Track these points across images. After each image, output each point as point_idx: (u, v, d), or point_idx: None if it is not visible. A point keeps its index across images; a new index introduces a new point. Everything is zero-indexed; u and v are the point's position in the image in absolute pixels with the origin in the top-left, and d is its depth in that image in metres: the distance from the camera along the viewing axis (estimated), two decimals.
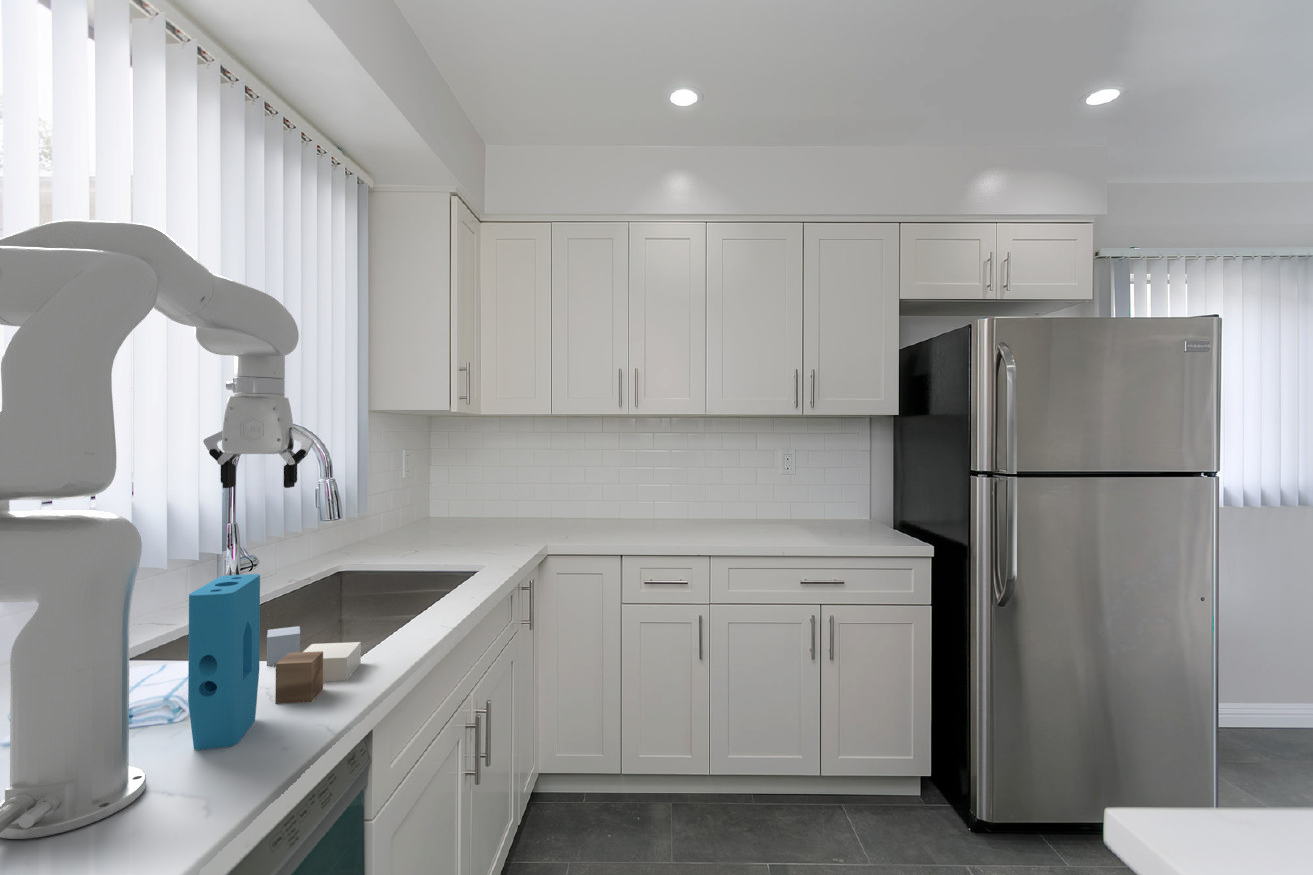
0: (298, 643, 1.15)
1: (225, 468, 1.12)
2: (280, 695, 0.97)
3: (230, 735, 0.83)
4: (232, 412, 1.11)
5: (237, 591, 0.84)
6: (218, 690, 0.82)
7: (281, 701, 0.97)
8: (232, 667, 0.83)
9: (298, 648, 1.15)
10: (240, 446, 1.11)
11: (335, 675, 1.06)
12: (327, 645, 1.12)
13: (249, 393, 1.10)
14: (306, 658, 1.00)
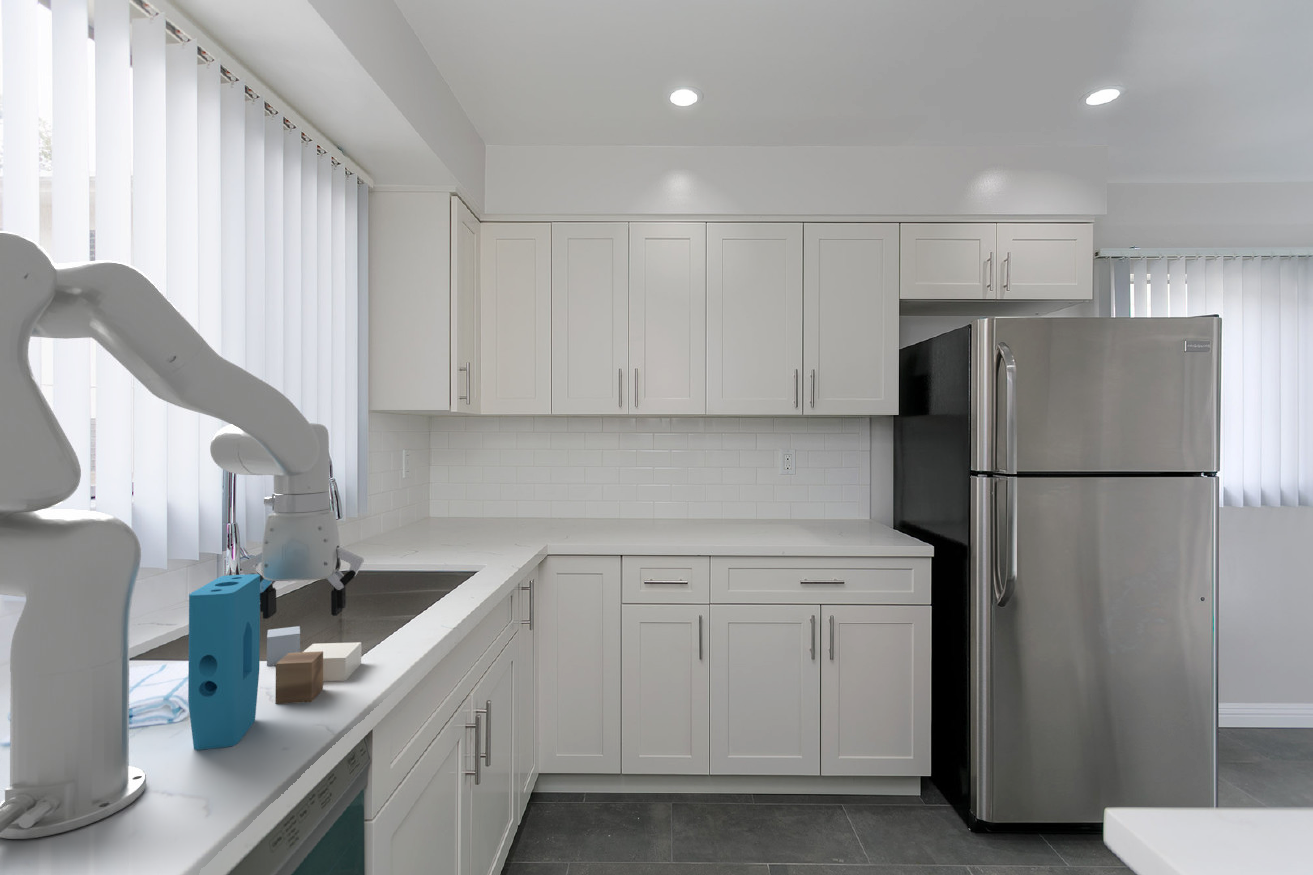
0: (298, 643, 1.15)
1: (265, 596, 0.98)
2: (280, 695, 0.97)
3: (230, 735, 0.83)
4: (272, 534, 0.97)
5: (237, 591, 0.84)
6: (218, 690, 0.82)
7: (281, 701, 0.97)
8: (232, 667, 0.83)
9: (298, 648, 1.15)
10: (282, 572, 0.97)
11: (333, 675, 1.06)
12: (328, 645, 1.12)
13: (291, 513, 0.96)
14: (306, 658, 1.00)
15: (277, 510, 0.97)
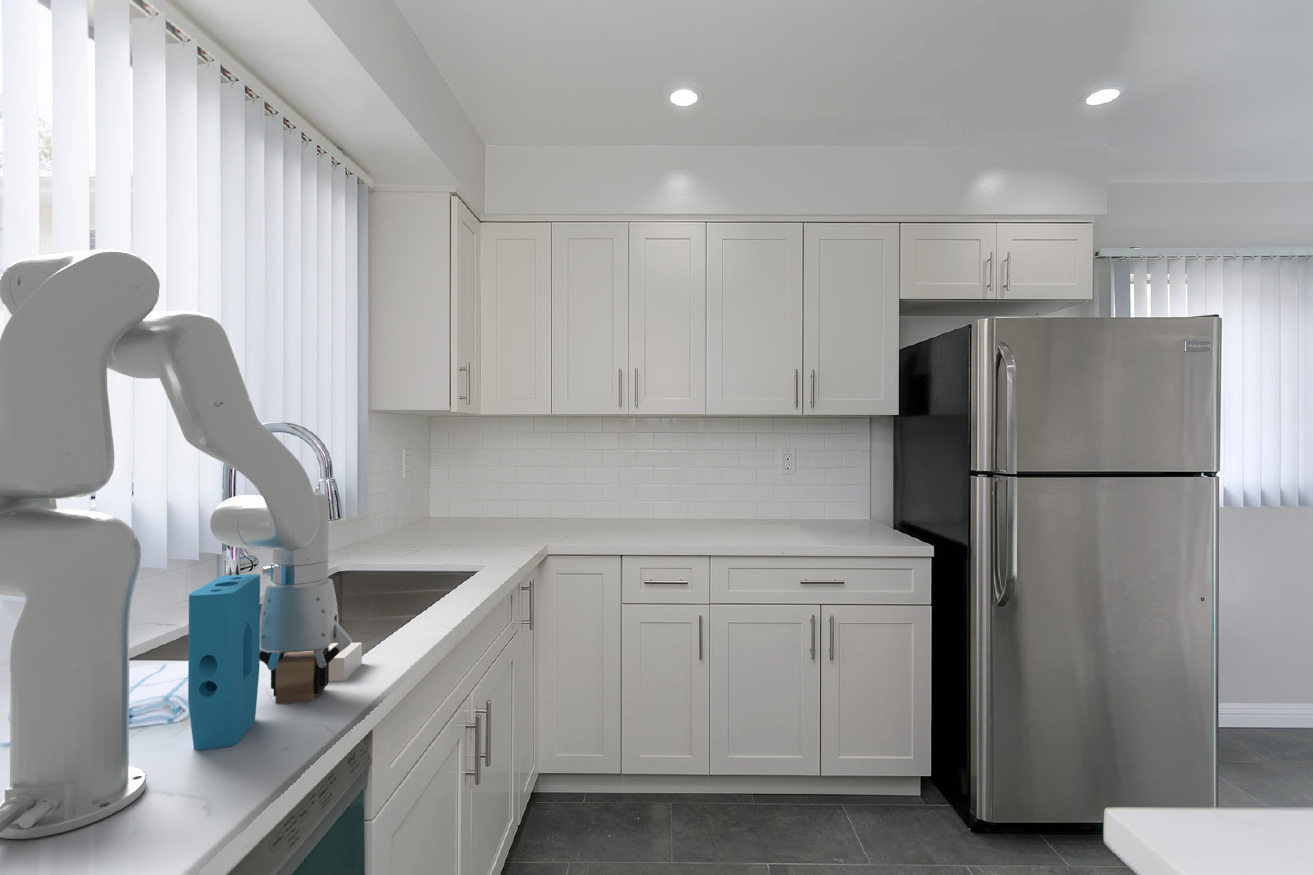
0: None
1: None
2: (280, 694, 0.97)
3: (230, 735, 0.83)
4: (270, 605, 0.97)
5: (237, 591, 0.84)
6: (218, 690, 0.82)
7: (281, 701, 0.97)
8: (232, 667, 0.83)
9: None
10: (279, 643, 0.97)
11: (332, 676, 1.06)
12: None
13: (290, 584, 0.96)
14: (306, 657, 1.00)
15: (275, 581, 0.97)
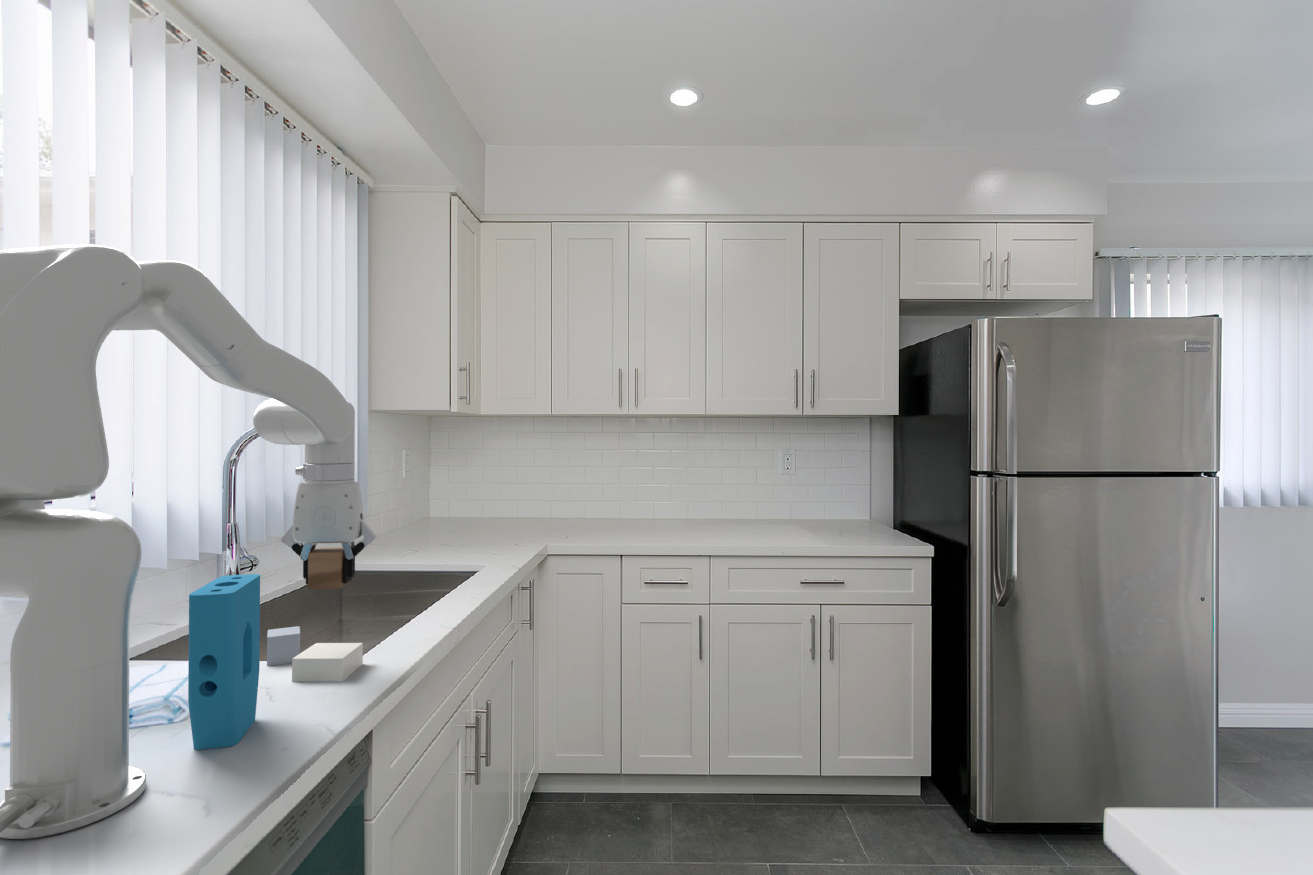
0: (298, 643, 1.15)
1: None
2: (312, 581, 1.07)
3: (230, 735, 0.83)
4: (302, 500, 1.07)
5: (237, 591, 0.84)
6: (218, 690, 0.82)
7: (313, 587, 1.07)
8: (232, 667, 0.83)
9: (298, 648, 1.15)
10: (311, 535, 1.07)
11: (331, 676, 1.06)
12: (329, 645, 1.13)
13: (321, 481, 1.06)
14: (335, 550, 1.10)
15: (308, 478, 1.07)
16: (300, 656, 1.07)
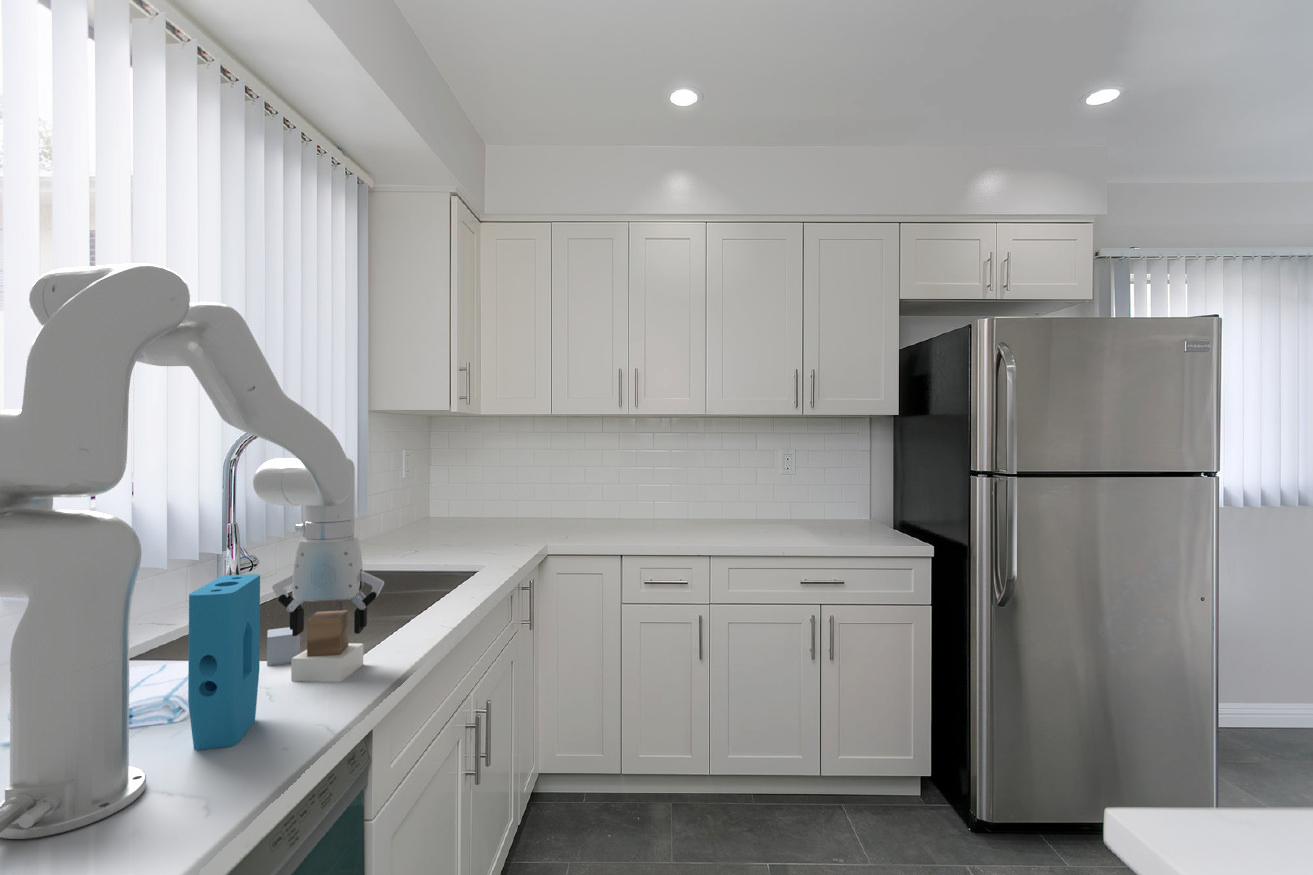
0: (298, 643, 1.15)
1: (295, 615, 1.08)
2: (311, 648, 1.07)
3: (230, 735, 0.83)
4: (302, 558, 1.07)
5: (237, 591, 0.84)
6: (218, 690, 0.82)
7: (312, 654, 1.07)
8: (232, 667, 0.83)
9: (298, 648, 1.15)
10: (311, 593, 1.07)
11: (329, 676, 1.06)
12: None
13: (321, 539, 1.06)
14: (334, 615, 1.10)
15: (307, 537, 1.07)
16: (299, 656, 1.07)
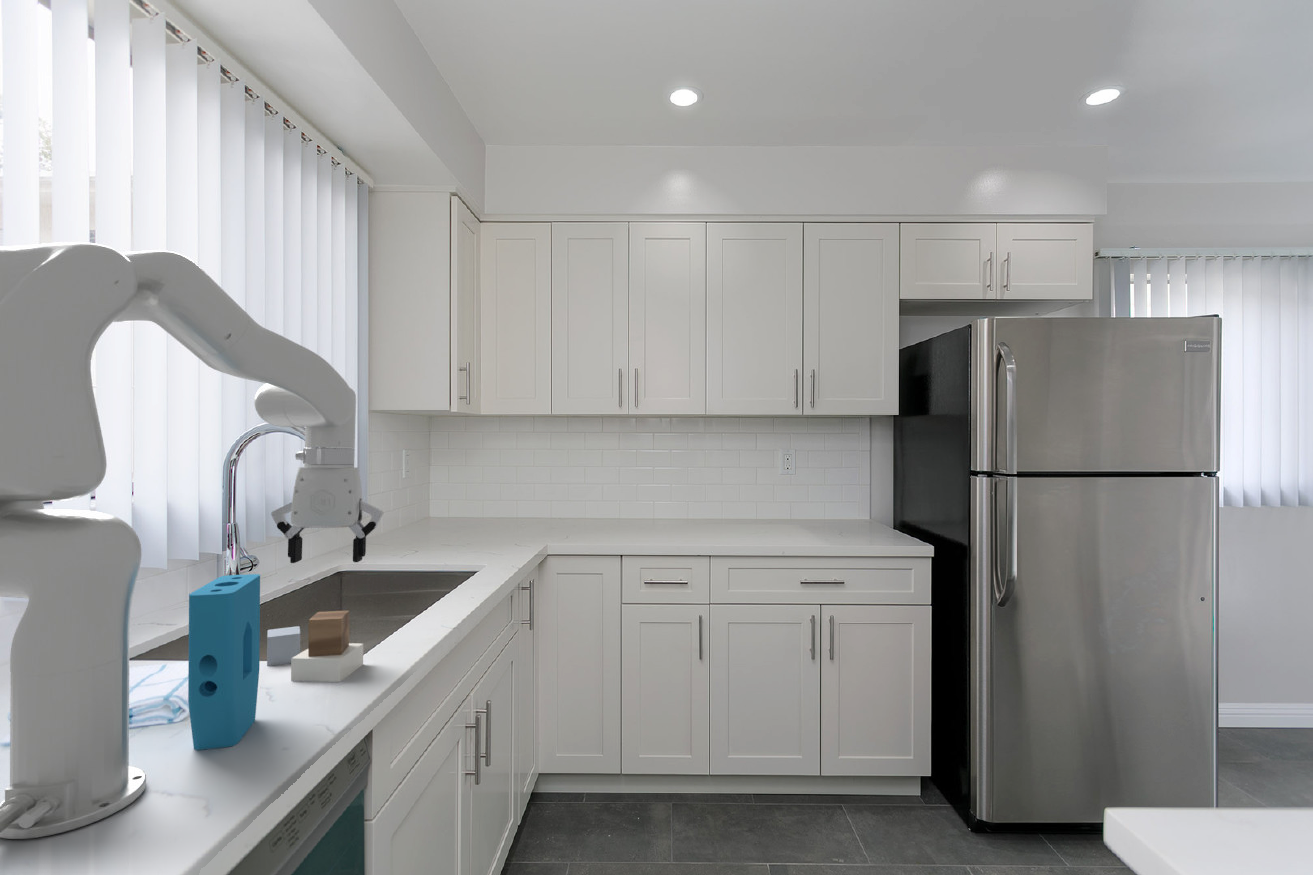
0: (298, 643, 1.15)
1: (293, 542, 1.07)
2: (313, 648, 1.07)
3: (230, 735, 0.83)
4: (302, 484, 1.07)
5: (237, 591, 0.84)
6: (218, 690, 0.82)
7: (313, 654, 1.07)
8: (232, 667, 0.83)
9: (298, 648, 1.15)
10: (310, 519, 1.07)
11: (329, 676, 1.06)
12: None
13: (321, 465, 1.06)
14: (335, 615, 1.10)
15: (308, 462, 1.07)
16: (299, 656, 1.07)
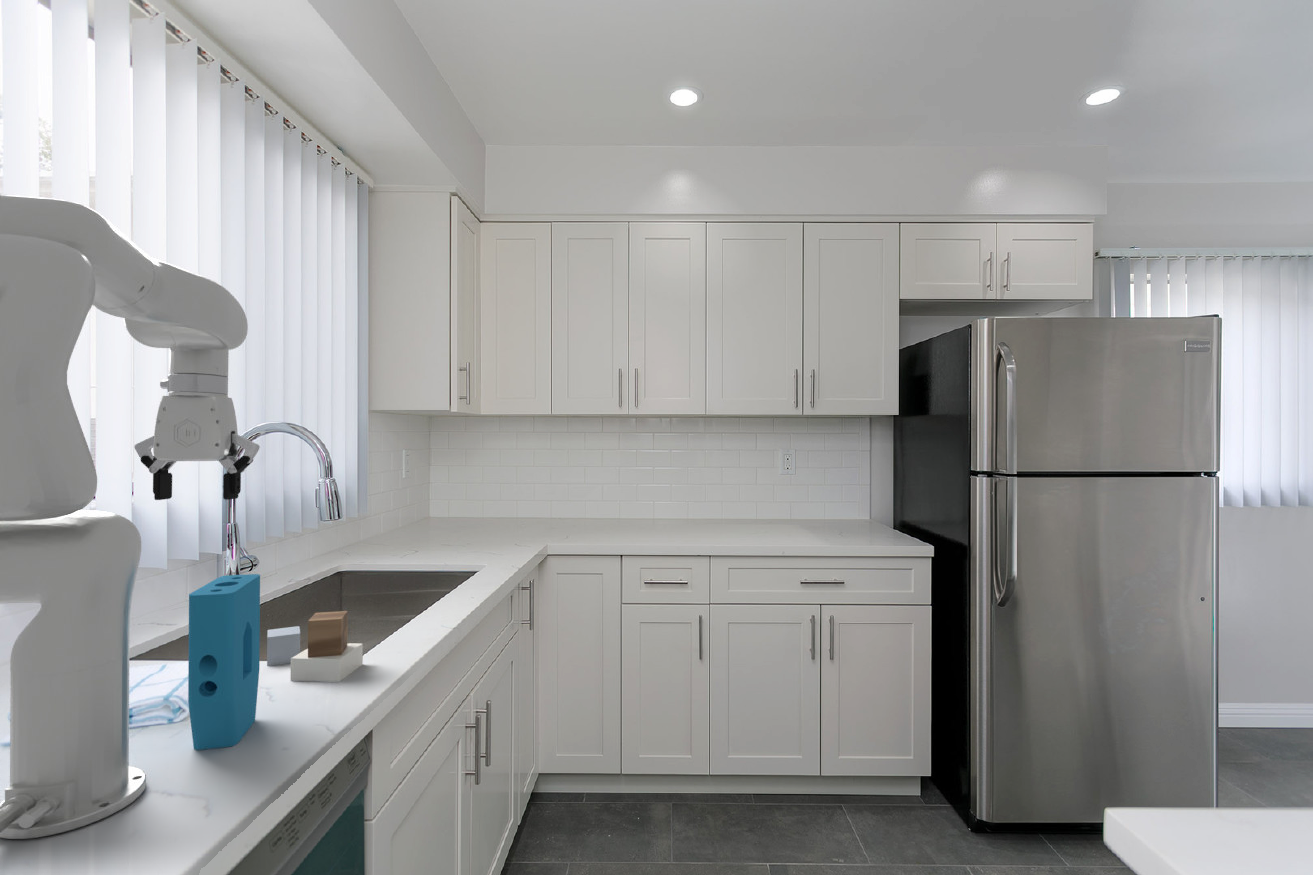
0: (298, 643, 1.15)
1: (157, 477, 0.99)
2: (312, 649, 1.07)
3: (230, 735, 0.83)
4: (164, 414, 0.98)
5: (237, 591, 0.84)
6: (218, 690, 0.82)
7: (313, 655, 1.07)
8: (232, 667, 0.83)
9: (298, 648, 1.15)
10: (173, 451, 0.98)
11: (328, 676, 1.06)
12: None
13: (183, 392, 0.97)
14: (335, 616, 1.09)
15: (170, 390, 0.98)
16: (299, 656, 1.07)
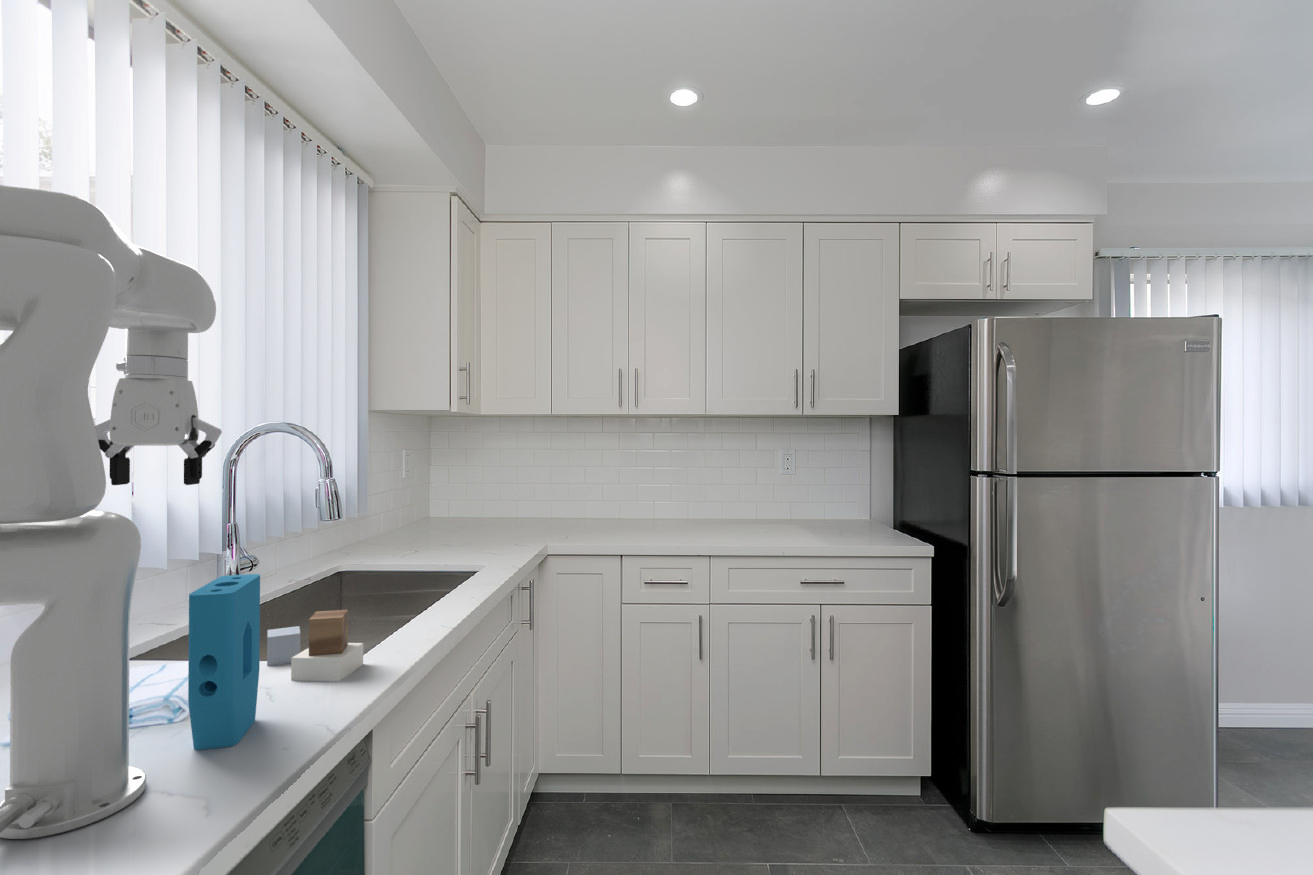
0: (298, 643, 1.15)
1: (114, 462, 0.96)
2: (313, 647, 1.07)
3: (230, 735, 0.83)
4: (121, 397, 0.95)
5: (237, 591, 0.84)
6: (218, 690, 0.82)
7: (314, 653, 1.07)
8: (232, 667, 0.83)
9: (298, 648, 1.15)
10: (131, 436, 0.95)
11: (328, 676, 1.06)
12: None
13: (140, 374, 0.95)
14: (335, 614, 1.10)
15: (127, 372, 0.95)
16: (299, 655, 1.07)
